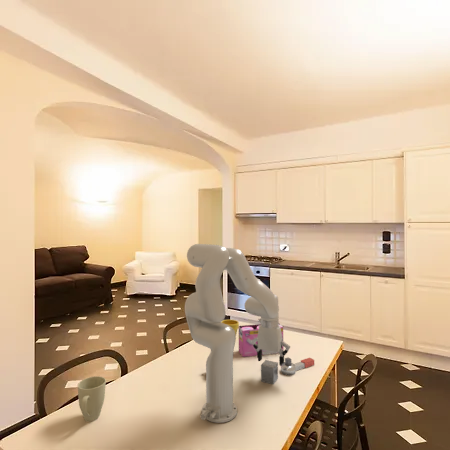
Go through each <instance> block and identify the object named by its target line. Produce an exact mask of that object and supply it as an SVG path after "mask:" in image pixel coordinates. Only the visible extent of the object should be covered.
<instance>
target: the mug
mask: <svg viewBox="0 0 450 450" xmlns="http://www.w3.org/2000/svg"><path fill="white" fill-rule="evenodd" d="M106 382H107V379H106V378H105V377H103V376H100V375H99V376H96V375H95V376H89V377H86V378H84V379H82V380H81V381H80V380H79V382H78V383H77V396H78V405H79V409H80V412H81V413H82V418H83V419H84V421H85V422H93V421H96V420H98V419H99V417H100V415H101V412H102V409H103V405H104V401H105V397H106V395H105V394H106Z"/></svg>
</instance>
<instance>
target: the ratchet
mask: <svg viewBox="0 0 450 450" xmlns="http://www.w3.org/2000/svg"><path fill="white" fill-rule="evenodd" d="M313 366H315V359H314V358H311V357H307V358H304V359H301V360H300V361H299V362H296V363H295V362H292V359H291V358H290V357H284V363H283V364H282V366H280V372H281V374H283V375H286V376H294V375H295V374H296V372H297V371H300V370H302V369H307V368H309V367H313Z"/></svg>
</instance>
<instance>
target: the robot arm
mask: <svg viewBox="0 0 450 450" xmlns="http://www.w3.org/2000/svg"><path fill="white" fill-rule="evenodd" d="M186 258H187V261H188V264H190V265H191V266H192V267H195V268H201V269H200V271H199V273H198V275H197V276H196V280H195V284H194V285H195V286H194V287H195V292H193V293H191V294H189V295H188V296H187V298H186V299H185V302H184V313H185V314H184V315H185V318H186V322H187V326H188V329H189V332H190V336H191V339H192V340H193V341H194V342H195V343H197V344H199V345H201V346H203V347H205V348H207V349H210V353H209V355H208V356H207V358H206V362H205V363H206V364H205V370H206V372H205V375H206V376H205V378H206V379H205V380H206V382H205V387H206V389H205V391H206V392H205V394H206V395H205V403H204V404H203V406H202V407H201V414H200V419H201V420H202V421H205V420H207V421H209V422H212V423H216V424H217V423H220V424H222V423H223V424H224V423H227V422H229V421H231V420H234V418H235V417H236V416H237V414H238V408H237V407H238V406H237V405H236V404H235V403H234V396H233V395H234V389H233V388H234V380H233V379H234V377H233V376H234V365H233V364H234V351H235V345H236V341H237V340H236V339H237V334H235V331H234V330H233V328H232V327H230V326H229V325H227V324H224V323H221V322H222V321H223V320H225V317H226V305H225V302H224V296H223V294H222V288H221V278H222V274H223V273H224V271H226V272H227V273H228V275H229V277H230V279H231V280H232V282H233V284H234V286H235V288H236V289H237V290H238V291H240V292H242V293H244V294H245V295H247V296H248V298H247V299H246V300H245V303H244V310H245V312H246V313H248V314H249V315H251V316H254V317H255V316H256V317H260V318H258V320H257V322H258V323H259V324H261V325H259V330H258V337H257V338H255V339H252V340H251V342H252V344H253V347H254V348H255V349H256V351H257V355H256V358H257V361H258V362H261V361H262V359H263V355H262V350H266V351H271V352H278V353H277V354H279V356H278V357H279V360H278V361H279V362H278V365H279V366H280V367H281V366H282V364H283V363H284V362H285V355H287V353H288V352H289V350H290V349H291V346H290V344H288V343H286V342H285V341H284V340H283V341H282V333H281V328H280V326H279V324H280V323H279V322H280V321H279V319H280V318H279V311H280V307H279V297H278V295H277V294H276V293H274V292H273V291H272V290H271V289H270V288H269V287H268V286H267V285H266V284H265V283H264V282H262V281H261V279H259V278H258V277H256V276H255V274H254V272H253V270H252V268H251V266H250V264H249V262H248V260H247V257H246V256H245V255H244V253H243V252H242V251H241V249H239V248H234V247H233V248H232V247H225V246H222V245H219V244H209V243H208V244H207V243H196V244H195V243H194V244H192V245H191V246H190V247H189V248H188V250H187V253H186ZM256 341H258V342H257V344H256ZM282 346H284V347H283V349H284V350H283V349H282Z"/></svg>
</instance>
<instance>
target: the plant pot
mask: <svg viewBox="0 0 450 450" xmlns="http://www.w3.org/2000/svg"><path fill="white" fill-rule="evenodd" d="M221 323H224V324H227V325H229V326H230V327H232V328H233V330H234V331H235V334H236V335H237V333H238V330H239V326H240V323H239V321H238V320H236V319H224V320H223V321H222V322H221Z"/></svg>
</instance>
